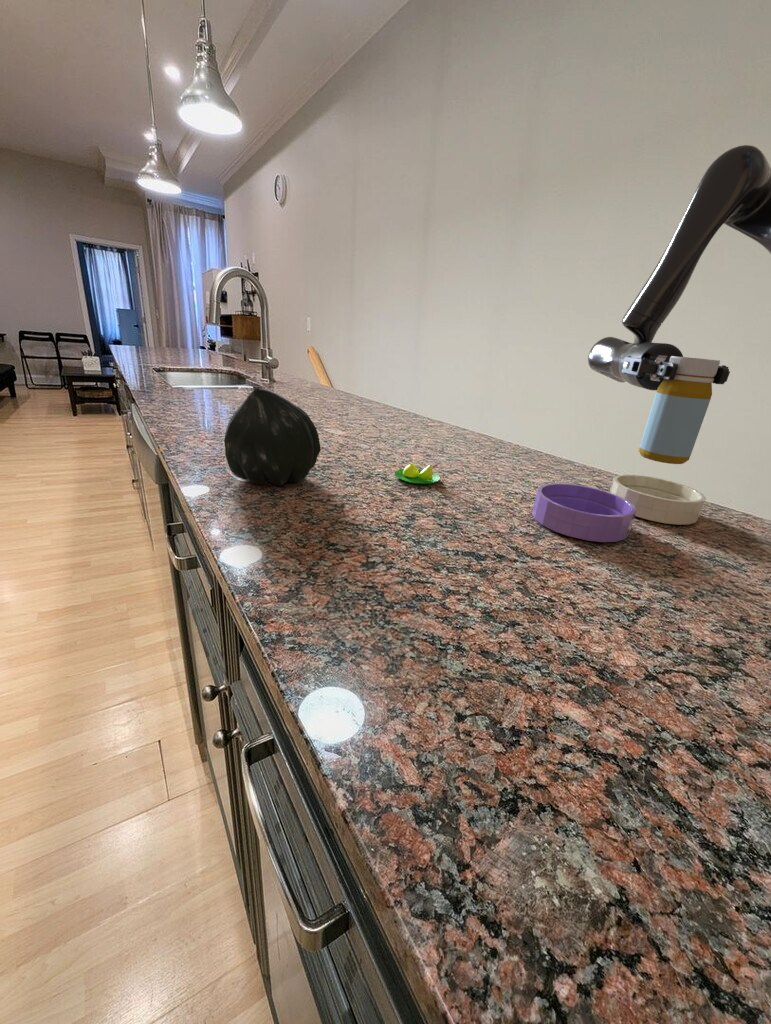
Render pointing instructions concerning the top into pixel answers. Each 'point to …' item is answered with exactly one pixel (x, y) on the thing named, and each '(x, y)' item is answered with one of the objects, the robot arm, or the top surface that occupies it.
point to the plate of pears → (417, 475)
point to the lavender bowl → (583, 512)
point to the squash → (270, 440)
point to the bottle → (679, 411)
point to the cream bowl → (659, 498)
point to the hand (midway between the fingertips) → (699, 374)
